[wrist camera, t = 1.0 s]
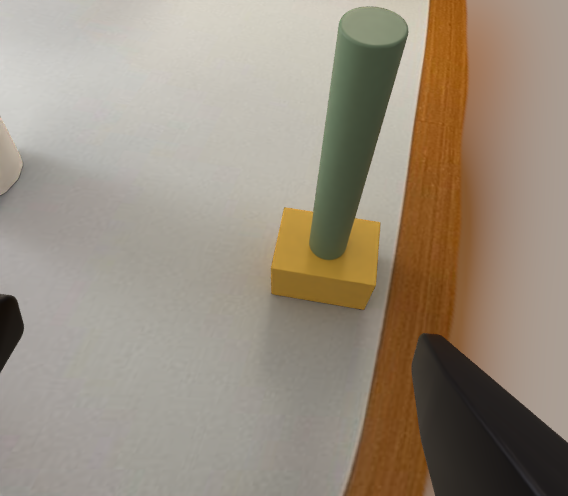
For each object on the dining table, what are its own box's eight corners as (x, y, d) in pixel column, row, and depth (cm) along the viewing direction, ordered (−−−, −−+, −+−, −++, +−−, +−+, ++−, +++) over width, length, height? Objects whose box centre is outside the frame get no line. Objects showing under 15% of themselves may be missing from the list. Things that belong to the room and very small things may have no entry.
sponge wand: (364, 310, 26) (474, 83, 12) (271, 294, 27) (266, 55, 12) (369, 251, 29) (467, -3, 14) (283, 237, 29) (291, -23, 14)
